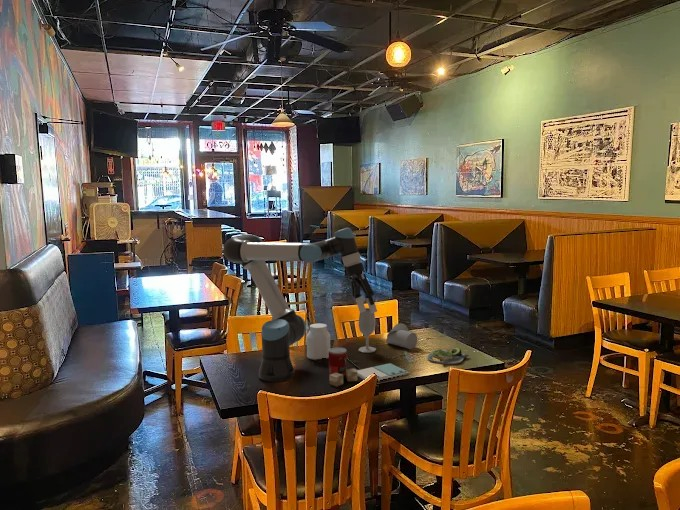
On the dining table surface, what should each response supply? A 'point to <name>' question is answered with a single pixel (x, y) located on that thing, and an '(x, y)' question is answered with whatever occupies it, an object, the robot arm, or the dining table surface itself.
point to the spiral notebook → (382, 372)
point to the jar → (318, 341)
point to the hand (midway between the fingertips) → (368, 312)
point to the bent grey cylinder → (402, 337)
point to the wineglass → (367, 329)
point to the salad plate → (447, 356)
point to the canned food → (337, 360)
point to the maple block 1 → (336, 379)
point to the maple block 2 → (351, 375)
